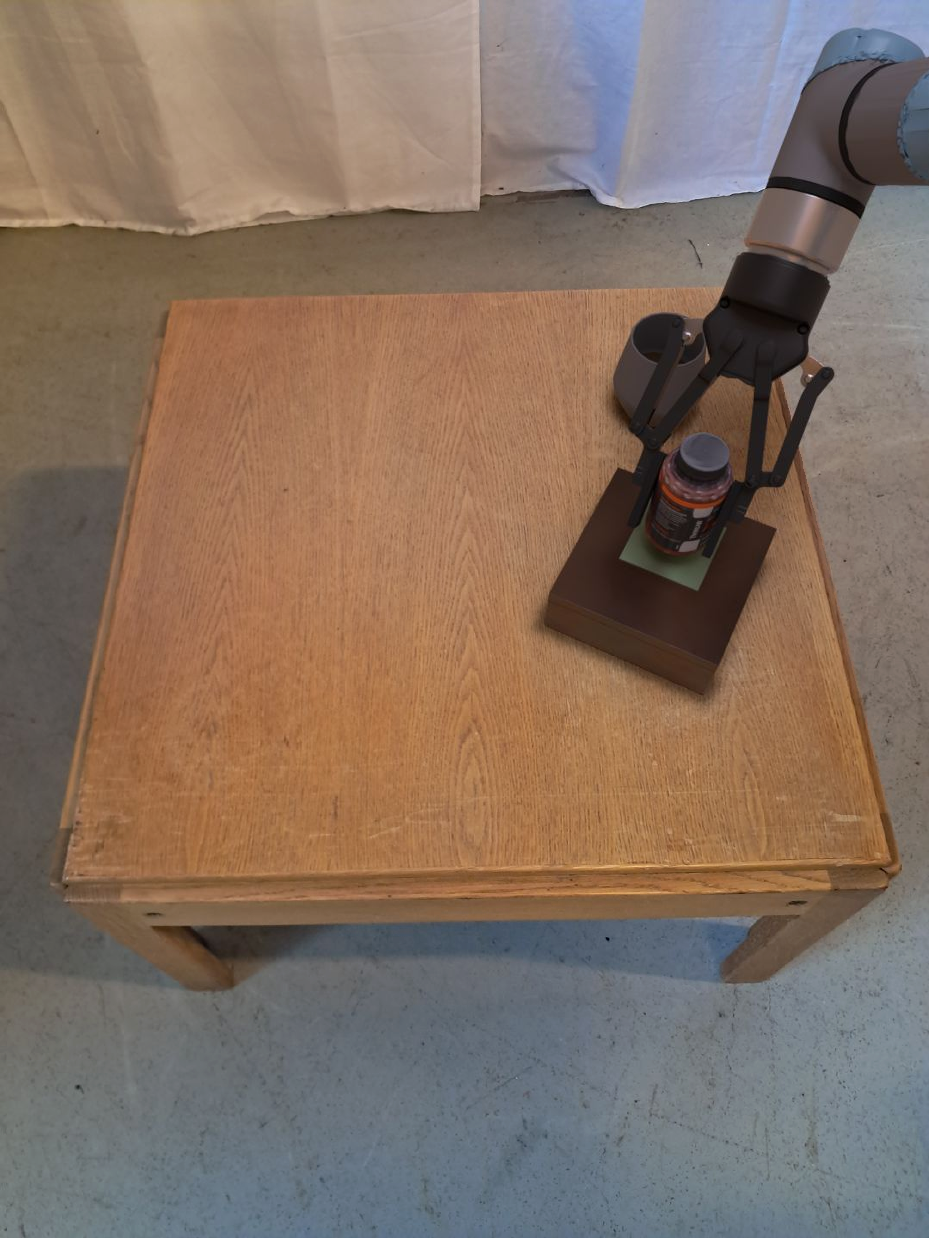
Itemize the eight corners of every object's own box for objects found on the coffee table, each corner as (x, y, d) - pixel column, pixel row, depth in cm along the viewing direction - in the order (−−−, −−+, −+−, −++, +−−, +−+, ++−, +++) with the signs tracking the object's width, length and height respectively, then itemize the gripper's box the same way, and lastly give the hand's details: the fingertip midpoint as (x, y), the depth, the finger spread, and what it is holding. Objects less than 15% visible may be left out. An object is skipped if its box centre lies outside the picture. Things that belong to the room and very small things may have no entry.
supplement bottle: (703, 566, 80) (736, 489, 70) (637, 550, 81) (660, 472, 71) (714, 512, 83) (747, 431, 73) (650, 497, 84) (674, 415, 74)
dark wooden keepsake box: (759, 563, 90) (777, 527, 84) (703, 695, 83) (719, 665, 78) (610, 503, 94) (618, 465, 88) (544, 625, 87) (548, 592, 81)
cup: (604, 435, 98) (617, 368, 89) (611, 371, 102) (624, 301, 94) (693, 445, 97) (715, 378, 88) (696, 380, 102) (717, 310, 93)
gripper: (904, 308, 71) (777, 575, 79) (676, 235, 76) (577, 495, 83) (915, 297, 65) (776, 591, 72) (664, 218, 69) (557, 503, 76)
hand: (669, 539), depth 78 cm, fingers closed on supplement bottle, 6 cm apart
